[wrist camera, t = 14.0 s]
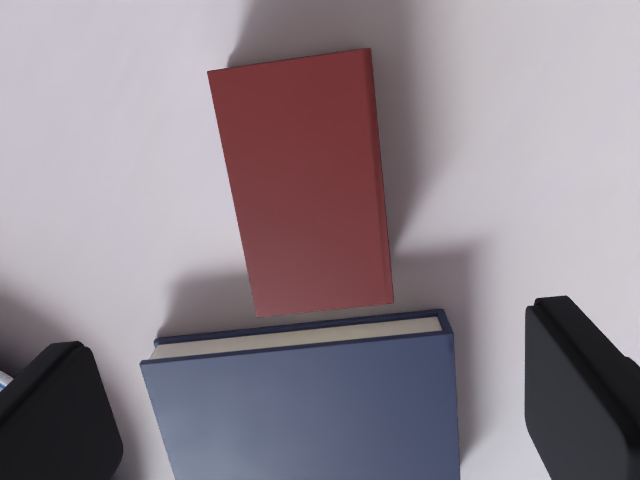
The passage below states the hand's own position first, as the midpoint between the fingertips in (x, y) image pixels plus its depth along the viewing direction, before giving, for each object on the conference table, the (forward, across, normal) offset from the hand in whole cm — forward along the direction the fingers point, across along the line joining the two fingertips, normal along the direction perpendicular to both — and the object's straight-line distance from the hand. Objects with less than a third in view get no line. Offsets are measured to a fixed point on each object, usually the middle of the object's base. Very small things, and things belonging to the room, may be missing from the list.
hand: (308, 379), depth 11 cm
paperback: (+15, +1, -1) cm, 15 cm away
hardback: (+15, +3, +13) cm, 20 cm away
